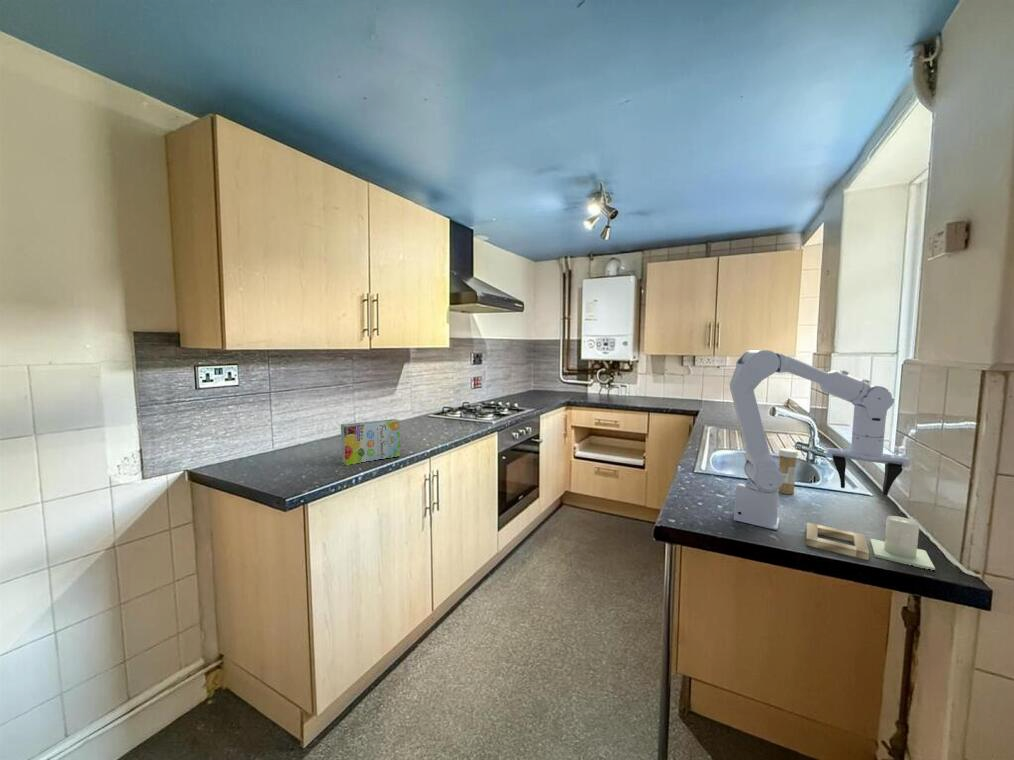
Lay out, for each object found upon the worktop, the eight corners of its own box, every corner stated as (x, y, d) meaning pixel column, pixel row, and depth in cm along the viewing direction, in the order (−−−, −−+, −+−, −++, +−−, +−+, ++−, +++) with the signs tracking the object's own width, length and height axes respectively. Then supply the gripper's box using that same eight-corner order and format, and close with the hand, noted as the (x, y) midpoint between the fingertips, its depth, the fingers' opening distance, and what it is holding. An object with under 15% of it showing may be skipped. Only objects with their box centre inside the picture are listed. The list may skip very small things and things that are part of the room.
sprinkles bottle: (773, 489, 127) (775, 447, 126) (786, 489, 128) (789, 447, 127) (784, 495, 123) (787, 451, 122) (798, 494, 123) (801, 451, 122)
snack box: (395, 454, 165) (395, 418, 164) (400, 457, 161) (400, 420, 159) (341, 462, 153) (340, 423, 152) (345, 466, 148) (344, 426, 147)
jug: (882, 544, 91) (885, 514, 90) (914, 551, 88) (917, 520, 87) (886, 556, 85) (889, 524, 85) (920, 564, 82) (923, 530, 82)
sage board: (874, 556, 86) (874, 554, 86) (870, 540, 94) (870, 538, 94) (934, 571, 81) (935, 568, 81) (925, 553, 88) (925, 550, 88)
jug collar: (806, 545, 91) (806, 538, 91) (806, 528, 100) (807, 522, 100) (868, 560, 85) (869, 552, 85) (863, 541, 93) (864, 534, 93)
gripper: (829, 433, 97) (825, 488, 98) (913, 442, 89) (908, 502, 90) (828, 429, 103) (824, 481, 104) (907, 437, 94) (902, 493, 95)
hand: (863, 490), depth 97 cm, fingers open, 7 cm apart
